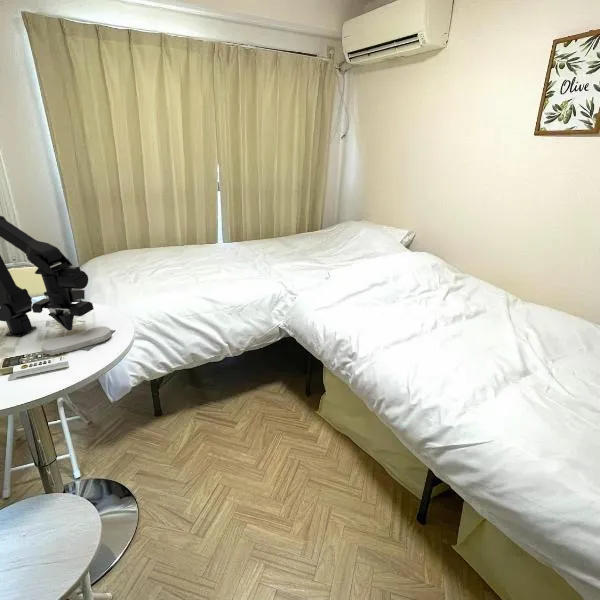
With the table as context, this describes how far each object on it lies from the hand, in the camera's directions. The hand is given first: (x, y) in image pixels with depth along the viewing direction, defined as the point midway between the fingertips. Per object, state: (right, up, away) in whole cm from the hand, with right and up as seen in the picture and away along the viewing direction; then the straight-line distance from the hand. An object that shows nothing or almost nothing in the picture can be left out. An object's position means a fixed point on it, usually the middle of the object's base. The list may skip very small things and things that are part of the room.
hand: (69, 330), depth 126 cm
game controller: (+3, -1, -1) cm, 3 cm away
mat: (+8, -3, -1) cm, 8 cm away
